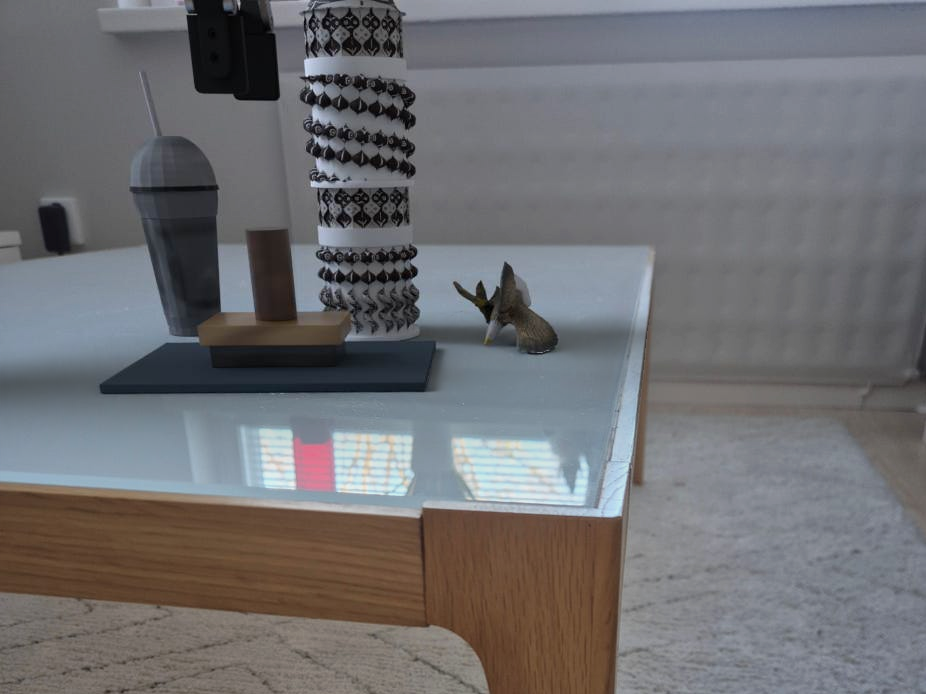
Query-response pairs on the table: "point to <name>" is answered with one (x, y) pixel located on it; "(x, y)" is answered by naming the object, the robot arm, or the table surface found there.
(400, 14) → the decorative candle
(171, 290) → the beverage cup
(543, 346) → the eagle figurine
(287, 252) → the brush
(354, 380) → the mat
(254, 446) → the table surface
